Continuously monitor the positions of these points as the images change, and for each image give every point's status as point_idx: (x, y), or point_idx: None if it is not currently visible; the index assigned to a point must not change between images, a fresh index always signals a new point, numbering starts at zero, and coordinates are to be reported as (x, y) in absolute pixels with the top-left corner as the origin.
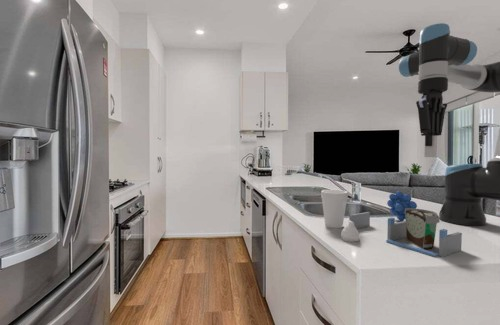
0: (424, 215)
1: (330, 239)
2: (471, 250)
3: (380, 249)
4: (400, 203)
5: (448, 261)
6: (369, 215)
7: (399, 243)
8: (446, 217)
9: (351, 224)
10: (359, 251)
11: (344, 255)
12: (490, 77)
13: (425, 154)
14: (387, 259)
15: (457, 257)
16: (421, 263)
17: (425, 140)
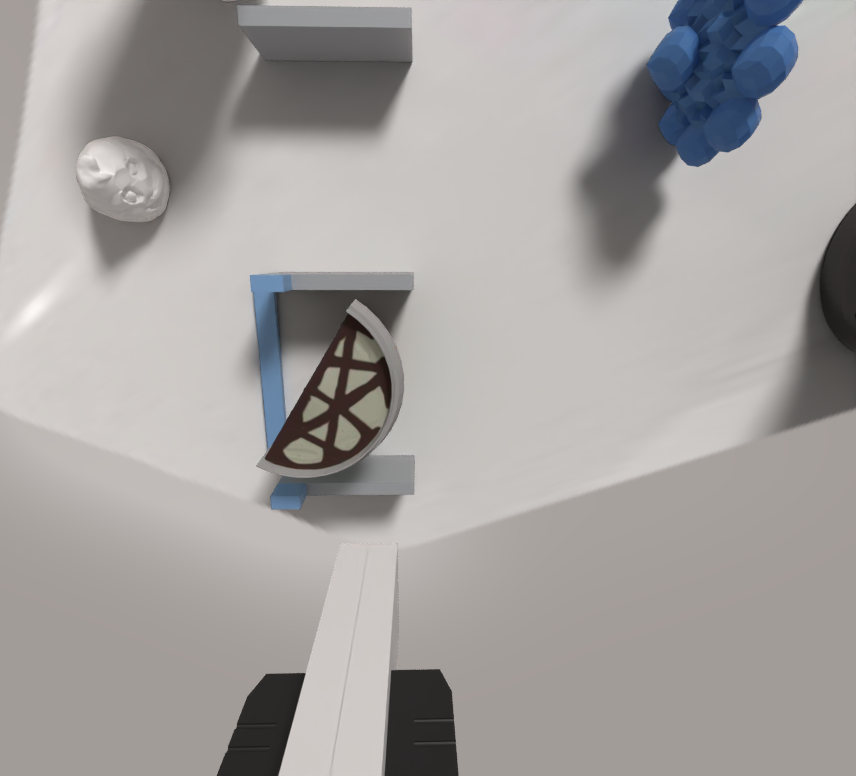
0: (320, 421)
1: (50, 136)
2: (445, 481)
3: (162, 328)
4: (701, 52)
5: None
6: (408, 36)
7: (264, 338)
8: (852, 236)
9: (81, 187)
10: (70, 304)
11: None
12: None
13: (336, 572)
14: (108, 398)
15: None
16: (182, 464)
17: (221, 766)
